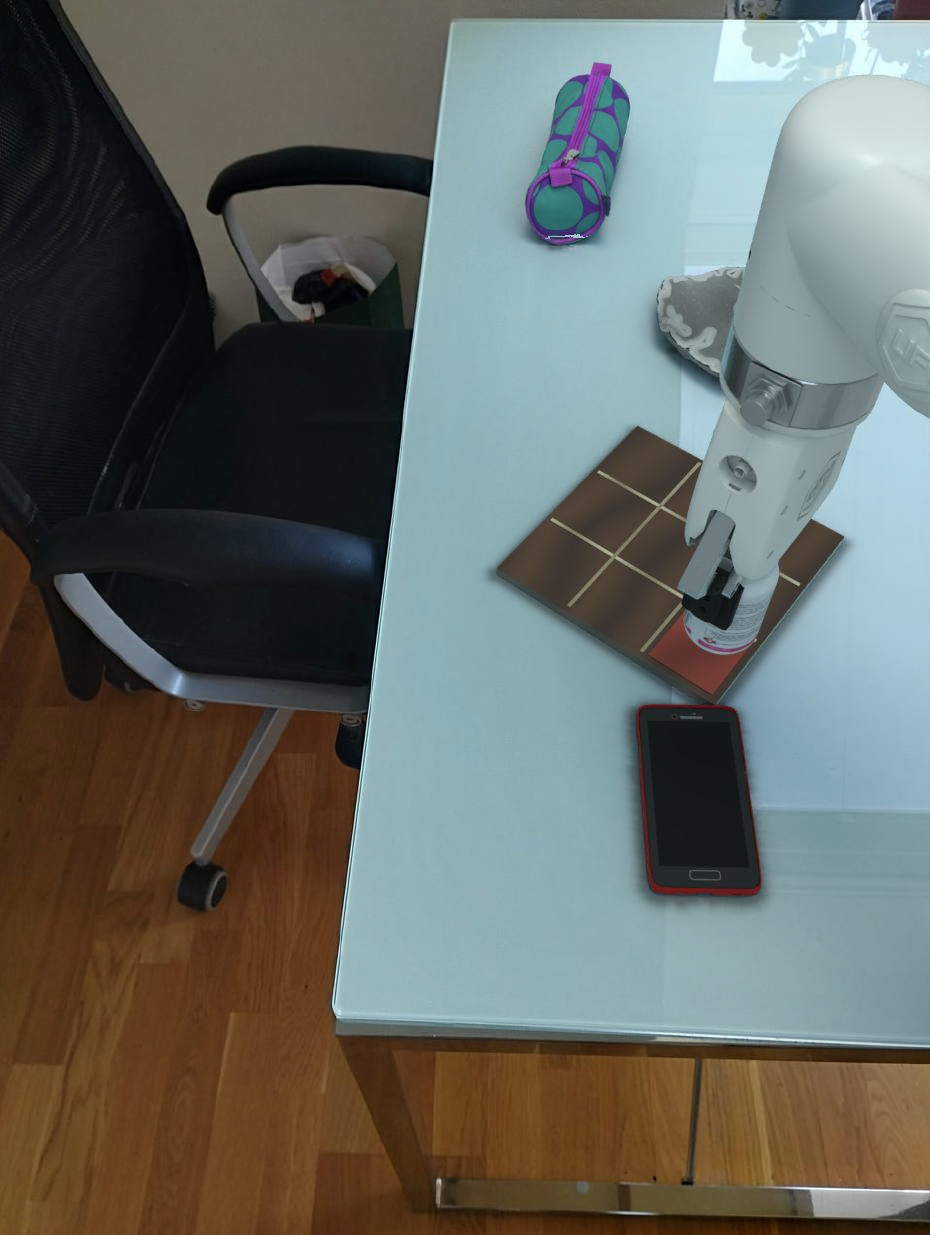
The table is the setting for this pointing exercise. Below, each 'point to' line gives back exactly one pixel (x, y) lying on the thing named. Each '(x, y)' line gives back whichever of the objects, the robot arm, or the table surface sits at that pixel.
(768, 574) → the pill bottle
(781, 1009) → the table surface
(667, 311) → the brain slice
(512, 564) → the grid board
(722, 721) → the cell phone
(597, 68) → the pencil case
